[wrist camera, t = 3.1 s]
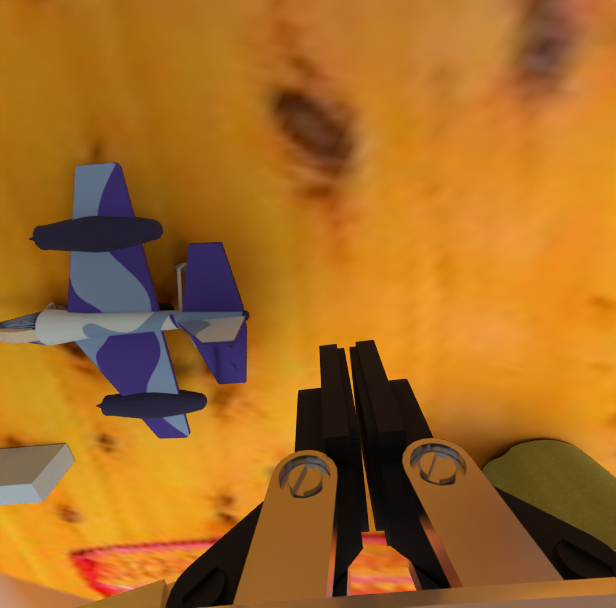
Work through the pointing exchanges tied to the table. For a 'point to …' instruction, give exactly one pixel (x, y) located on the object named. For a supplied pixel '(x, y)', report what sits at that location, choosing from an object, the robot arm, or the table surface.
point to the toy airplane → (136, 305)
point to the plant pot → (559, 485)
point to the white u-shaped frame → (32, 472)
